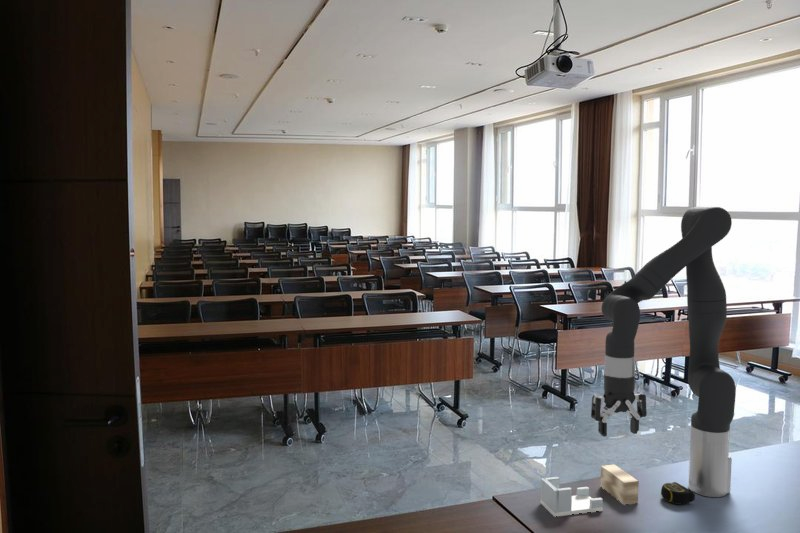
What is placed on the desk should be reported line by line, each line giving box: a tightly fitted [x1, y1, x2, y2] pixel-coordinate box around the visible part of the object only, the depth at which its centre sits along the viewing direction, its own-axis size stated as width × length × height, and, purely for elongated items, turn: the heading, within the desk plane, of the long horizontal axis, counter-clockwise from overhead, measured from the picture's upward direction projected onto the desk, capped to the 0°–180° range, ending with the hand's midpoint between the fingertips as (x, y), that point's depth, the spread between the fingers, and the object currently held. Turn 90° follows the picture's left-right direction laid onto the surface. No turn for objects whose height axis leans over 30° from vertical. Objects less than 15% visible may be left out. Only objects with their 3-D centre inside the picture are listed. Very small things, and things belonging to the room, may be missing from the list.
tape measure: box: [660, 481, 696, 505], centre depth 163 cm, size 7×7×4 cm
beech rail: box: [600, 464, 640, 506], centre depth 166 cm, size 11×4×6 cm, turn 13°
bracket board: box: [540, 476, 604, 518], centre depth 159 cm, size 13×8×6 cm, turn 103°
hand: (618, 434), depth 165 cm, fingers open, 8 cm apart
